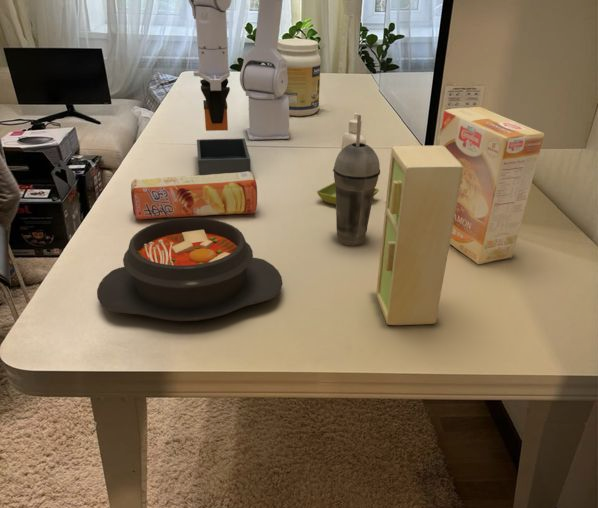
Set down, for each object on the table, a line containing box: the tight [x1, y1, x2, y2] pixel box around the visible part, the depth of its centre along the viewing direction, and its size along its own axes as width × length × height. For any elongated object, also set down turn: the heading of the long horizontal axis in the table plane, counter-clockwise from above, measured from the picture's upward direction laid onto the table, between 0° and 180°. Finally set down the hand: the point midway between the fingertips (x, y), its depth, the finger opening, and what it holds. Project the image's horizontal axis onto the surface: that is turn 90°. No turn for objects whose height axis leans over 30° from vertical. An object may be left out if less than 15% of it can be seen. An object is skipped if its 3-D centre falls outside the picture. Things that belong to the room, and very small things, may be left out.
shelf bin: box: [196, 137, 252, 175], centre depth 123 cm, size 10×13×4 cm
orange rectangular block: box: [202, 99, 229, 132], centre depth 122 cm, size 5×4×5 cm
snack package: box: [130, 171, 258, 220], centre depth 103 cm, size 21×7×7 cm, turn 100°
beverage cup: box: [332, 114, 381, 246], centre depth 92 cm, size 7×7×20 cm
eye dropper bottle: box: [341, 112, 367, 150], centre depth 120 cm, size 4×6×12 cm
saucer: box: [316, 181, 380, 206], centre depth 111 cm, size 9×9×2 cm
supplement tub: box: [277, 38, 322, 117], centre depth 157 cm, size 12×12×17 cm
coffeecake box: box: [438, 106, 545, 265], centre depth 93 cm, size 15×7×20 cm, turn 23°
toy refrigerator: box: [375, 145, 463, 326], centre depth 75 cm, size 8×7×21 cm
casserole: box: [96, 217, 283, 322], centre depth 80 cm, size 25×19×8 cm
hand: (216, 119), depth 123 cm, fingers closed on orange rectangular block, 4 cm apart
